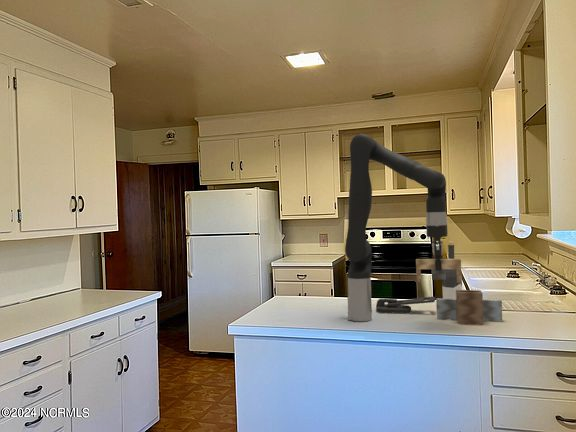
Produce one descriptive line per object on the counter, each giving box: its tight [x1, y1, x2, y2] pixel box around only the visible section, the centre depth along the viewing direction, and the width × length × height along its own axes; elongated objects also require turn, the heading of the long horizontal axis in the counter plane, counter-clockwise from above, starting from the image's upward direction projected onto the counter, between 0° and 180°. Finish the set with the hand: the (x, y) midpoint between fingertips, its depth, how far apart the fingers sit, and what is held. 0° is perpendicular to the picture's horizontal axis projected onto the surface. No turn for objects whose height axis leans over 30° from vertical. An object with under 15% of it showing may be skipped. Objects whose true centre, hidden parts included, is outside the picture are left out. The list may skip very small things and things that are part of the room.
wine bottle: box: [441, 240, 463, 299], centre depth 192 cm, size 8×8×30 cm
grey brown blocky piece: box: [435, 289, 503, 326], centre depth 174 cm, size 24×8×12 cm, turn 73°
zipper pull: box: [375, 296, 436, 315], centre depth 193 cm, size 9×7×25 cm
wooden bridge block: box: [415, 258, 463, 284], centre depth 168 cm, size 16×4×8 cm, turn 72°
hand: (438, 269), depth 168 cm, fingers closed on wooden bridge block, 3 cm apart
